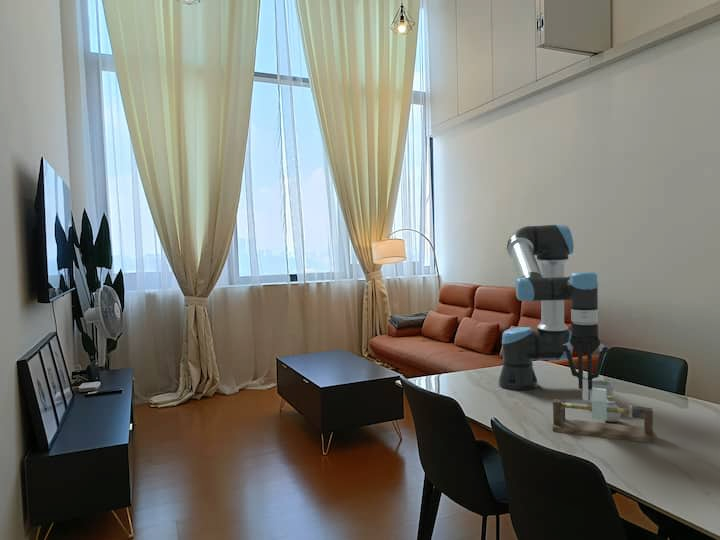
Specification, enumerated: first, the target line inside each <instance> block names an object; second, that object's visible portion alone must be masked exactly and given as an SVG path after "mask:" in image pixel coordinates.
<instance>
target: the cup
mask: <svg viewBox="0 0 720 540" xmlns="http://www.w3.org/2000/svg"><path fill="white" fill-rule="evenodd" d="M592 388H604V389H606V400H607V399H608V398H607V396H613V397H614V384H613V382H611V381H607V380H601V379H600V380H597V379H595V380H592ZM588 392H589V399H588V401H584V400H583V391H582V394H581V398H582V401H583V403H584V405H591V406H592V390H591V389H588ZM612 400H614V398H613V399H612Z"/></svg>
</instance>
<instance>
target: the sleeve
mask: <svg viewBox="0 0 720 540" xmlns="http://www.w3.org/2000/svg"><path fill="white" fill-rule="evenodd" d="M591 419H592V420H600V421H606V420H607V400H606V389H604V388H592V410H591Z"/></svg>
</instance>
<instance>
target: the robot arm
mask: <svg viewBox="0 0 720 540" xmlns="http://www.w3.org/2000/svg"><path fill="white" fill-rule="evenodd" d="M574 249H575V247H574V238H573V234H572V231H571V229H570V228H569V226H567V225H565V224H549V225H545V224H544V225H527V226H523V227H520V228H518V229H517V230H516V231H514V232H513V233H512V234H511V235H510V237H509V238H508V241H507V243H506V251H507V254H508V256H509V257H510V258H511V260H513V264H514V267H515V270H516V273H517V277H518V278H517V279H516V280H515V281H516V282H515V294H516V295H515V296H516V299H517V300H518V301H522V302H536V301H537V302H540V309H541V311H540V313H541V314H540V319H541V321H540V323H538V325H537V328H536V329H537V330H533V329H532V327H530V326H522V327H521V326H520V327H512V328H508V329H506V330H504V331H503V332H502V336H501V337H502V339H501V345H502V368H501V370H500V374H499V377H498V385H499V387H501V388H504V389H507V390H508V389H509V390H514V391H529V390H535V389H537V388H538V385H539V384H538V379H537V376H536V372H535V370H534V364H533V361H557V362H558V361H566V360H567V362H568V364H569V368H570V372H571V375H572V376H573V377H576V378H577V379H578V388H579V390H582V392H583V399H582V401H583V400H584V401H588V400H589V391H588V389H591V390H592V381H593V379H598V378H599V375H600V373H601V368H602V365H603V360H604V356H605V354H607V352H608V350H609V347H608V346H607V345H604V344H602V343H601V340H600V338H599V324H598V322H599V309H598V307H599V306H598V305H599V304H598V303H599V299H598V298H599V296H598V295H599V294H598V286H599V282H598V275H597V273H596V272H592V271H591V272H590V271H577V272H572V273H571V274H570V276H567V277H566V276H565V263H567V261H569V256H570V255H572V254H573V253H574ZM538 262H539V263H540V267H539V264H538ZM565 301H570V317H571V318H570V321H571V322H572V323H571V324H570V326H571V327H570V329H571V330H569V326H567V324H565ZM573 349H574V350H575V352H576V353H577V360H578V361H577V364H578V367H577V368H578V369H576V365H575V361H574V359H573V358H574V357H573V354H572V353H573ZM597 349H598V351H599V353H598V358H597V362H596V366H595V369H594V370H595V371H594V372H593V353H594V352H595V351H596V350H597ZM583 354H587V355H586V358H587V362H586V363H587V376H586V377H585V376H584V363H583V362H584V355H583ZM584 401H583V402H584Z"/></svg>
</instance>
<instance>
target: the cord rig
mask: <svg viewBox="0 0 720 540" xmlns="http://www.w3.org/2000/svg"><path fill="white" fill-rule="evenodd" d="M566 409H574V410H575V409H576V410H585V411H592V406H591V405H586V404H579V403H567V402H566V401H565V400H561V399H557V398H556V399H555V398H553V401H552V417H553V419H552V420H553V423H552V432H558V433H568V434H573V435H575V434H576V435H584V436H590V437H591V436H593V437H600V438H609V439H610V438H611V439H617V440H627V441H634V442H642V443H651V444H654V443H655V437H654V411H653V408H651V407H645V406H638V405H637V406H636V405H628V408H623V407H621V408H620V407H619V408H612V407H607V412H614V413H621V414H624V415H628V418H630V419H639V420H643V421H644V422H643V426H635V425H626V424H625V425H624V424H618V423H617V424H616V423H609V422H608V423H607V422H600V421H599V422H598V421H590V420H589V421H588V420H580V419H579V420H578V419H571V418H570V419H569V418H566Z"/></svg>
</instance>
